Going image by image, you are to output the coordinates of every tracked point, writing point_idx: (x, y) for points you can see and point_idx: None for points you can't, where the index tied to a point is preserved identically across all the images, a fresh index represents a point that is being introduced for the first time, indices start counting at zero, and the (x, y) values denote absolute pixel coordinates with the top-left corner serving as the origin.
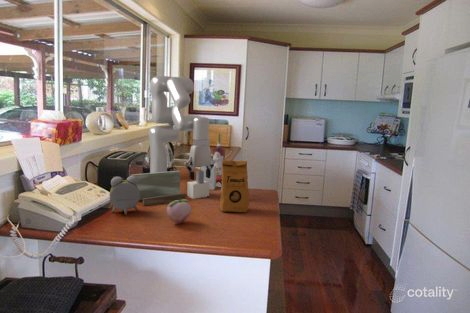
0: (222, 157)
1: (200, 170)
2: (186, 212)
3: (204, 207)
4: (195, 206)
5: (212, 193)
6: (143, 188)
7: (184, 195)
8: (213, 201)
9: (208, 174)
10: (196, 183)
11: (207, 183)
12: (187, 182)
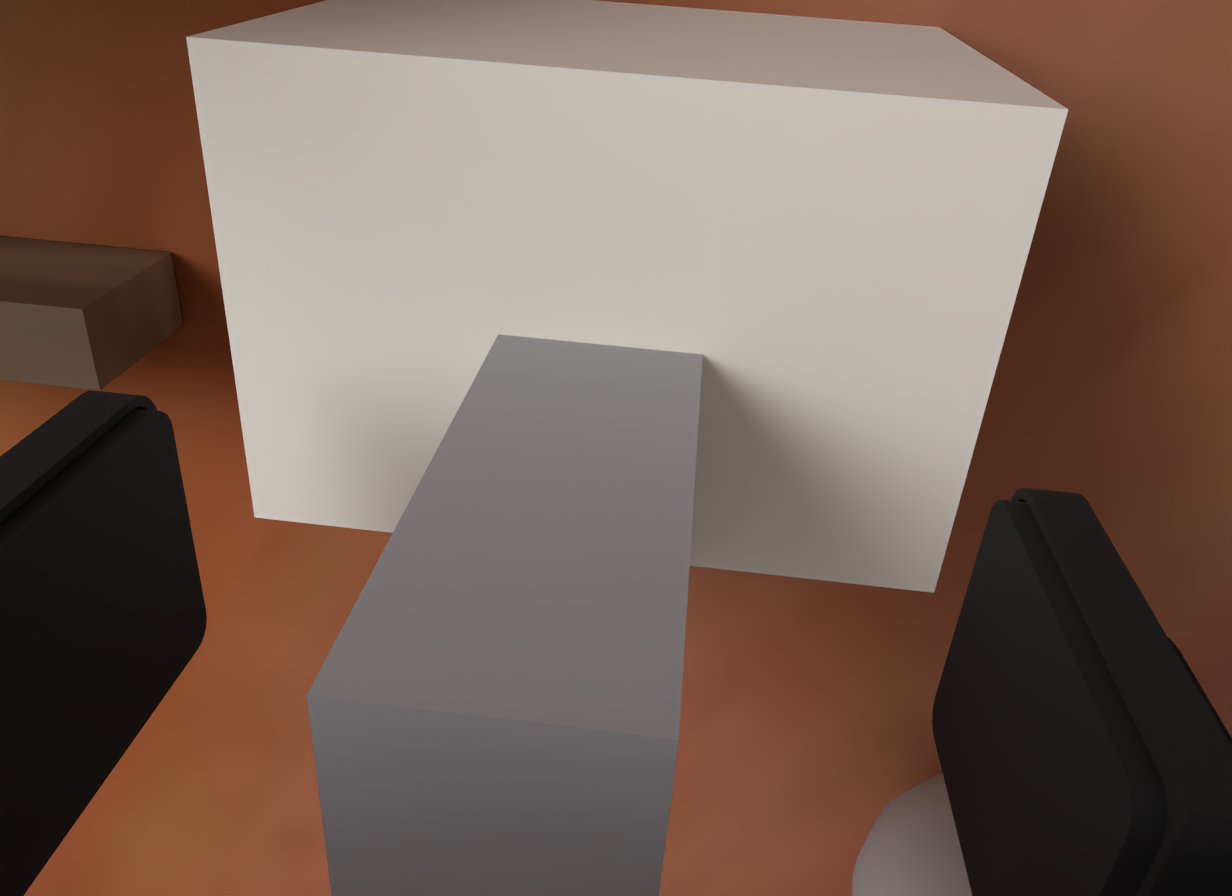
0: None
1: (579, 806)
2: None
3: None
4: (228, 730)
5: (1184, 171)
6: None
7: (105, 370)
8: None
9: (970, 829)
10: (430, 456)
11: (845, 567)
12: (198, 42)
